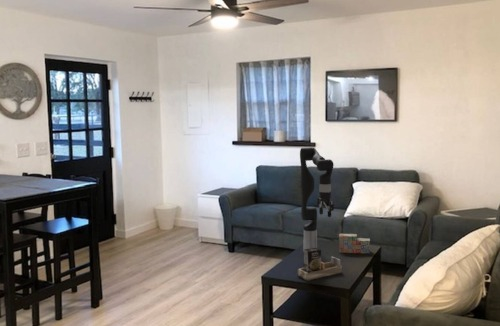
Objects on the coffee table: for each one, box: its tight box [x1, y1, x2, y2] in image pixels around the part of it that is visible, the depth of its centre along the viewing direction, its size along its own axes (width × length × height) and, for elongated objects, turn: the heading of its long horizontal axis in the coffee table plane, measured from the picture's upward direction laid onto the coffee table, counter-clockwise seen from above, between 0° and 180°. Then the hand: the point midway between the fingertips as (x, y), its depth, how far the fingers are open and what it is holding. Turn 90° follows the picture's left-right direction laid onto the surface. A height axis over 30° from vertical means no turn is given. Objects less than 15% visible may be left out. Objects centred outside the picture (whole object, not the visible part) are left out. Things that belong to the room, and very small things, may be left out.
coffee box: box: [303, 247, 322, 273], centre depth 287 cm, size 9×6×16 cm
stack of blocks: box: [338, 233, 371, 254], centre depth 334 cm, size 21×6×12 cm, turn 77°
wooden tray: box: [297, 256, 343, 282], centre depth 291 cm, size 10×26×8 cm, turn 119°
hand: (325, 215), depth 301 cm, fingers open, 8 cm apart
